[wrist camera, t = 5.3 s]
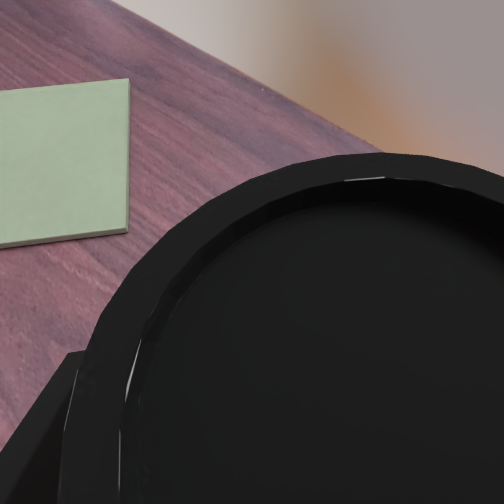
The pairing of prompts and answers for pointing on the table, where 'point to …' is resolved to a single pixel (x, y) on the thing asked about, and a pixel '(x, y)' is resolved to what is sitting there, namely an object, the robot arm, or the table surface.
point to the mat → (64, 162)
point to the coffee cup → (305, 346)
